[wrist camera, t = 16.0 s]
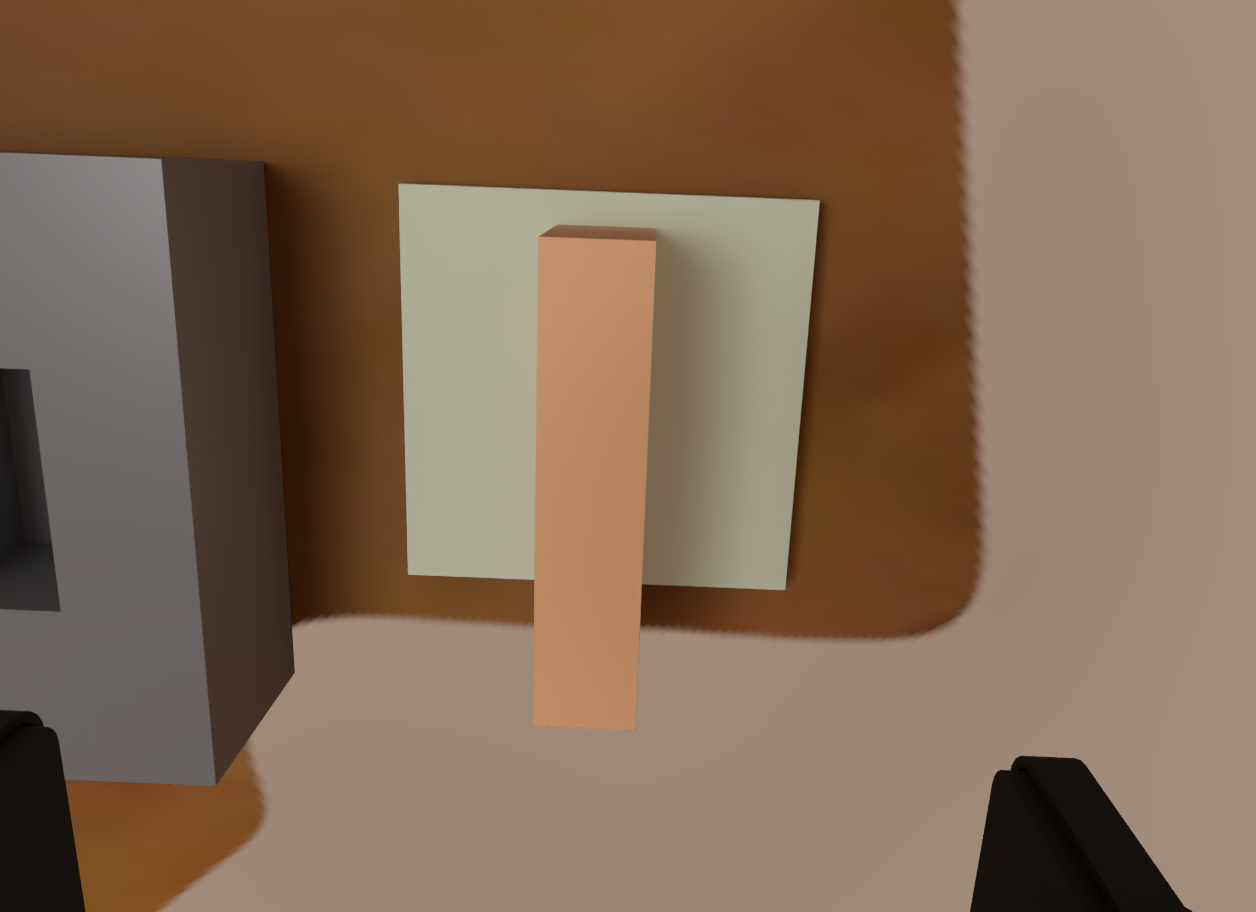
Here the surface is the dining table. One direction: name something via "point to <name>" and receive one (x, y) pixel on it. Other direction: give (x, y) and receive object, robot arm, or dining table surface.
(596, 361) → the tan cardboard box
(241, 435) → the dispenser
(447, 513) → the mat
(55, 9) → the dining table surface
